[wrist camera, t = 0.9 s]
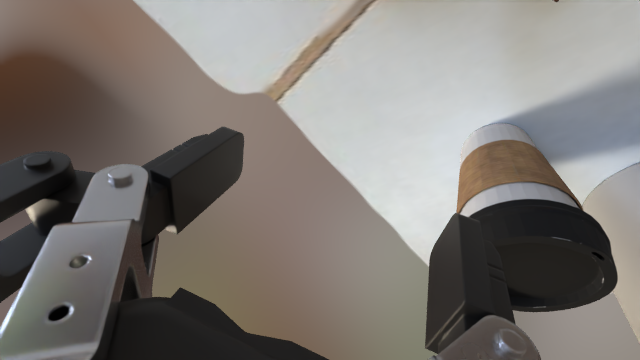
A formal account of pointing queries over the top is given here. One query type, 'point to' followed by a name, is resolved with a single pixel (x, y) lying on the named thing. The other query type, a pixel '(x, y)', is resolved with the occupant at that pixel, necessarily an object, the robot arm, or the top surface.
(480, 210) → the coffee cup
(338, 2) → the top surface
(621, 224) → the cylinder vase
